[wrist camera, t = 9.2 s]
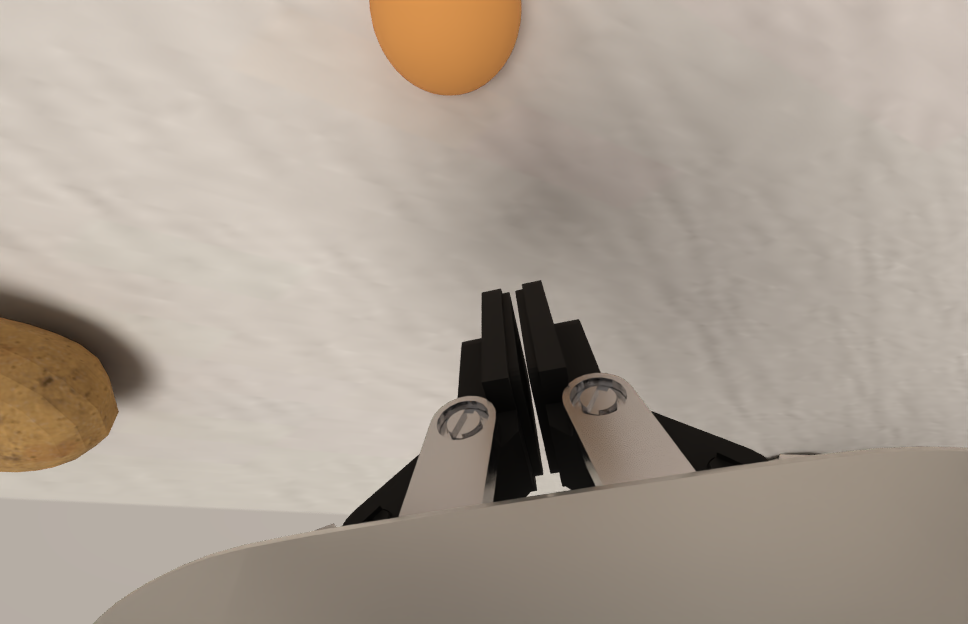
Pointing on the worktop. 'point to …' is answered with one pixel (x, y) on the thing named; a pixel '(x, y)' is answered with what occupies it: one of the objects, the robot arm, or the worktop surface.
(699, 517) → the robot arm
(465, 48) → the brown egg
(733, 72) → the worktop surface
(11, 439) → the potato
